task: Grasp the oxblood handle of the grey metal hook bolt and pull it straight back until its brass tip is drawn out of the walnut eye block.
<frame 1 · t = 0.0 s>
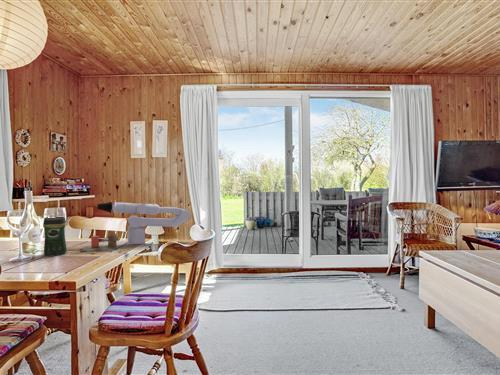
hand: (97, 206, 186), 22 cm above the table, tool horizontal, fingers open, 7 cm apart
eye bracket: (112, 247, 182), on the table
coffee jar: (55, 254, 166), on the table
hook bolt: (106, 240, 181), point 4 cm above the table, slide at 0.0 cm
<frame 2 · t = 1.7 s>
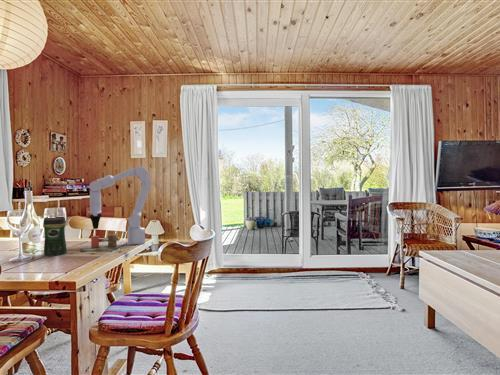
hand: (95, 227, 187), 10 cm above the table, tool pointing down, fingers open, 7 cm apart
nothing on the table moved.
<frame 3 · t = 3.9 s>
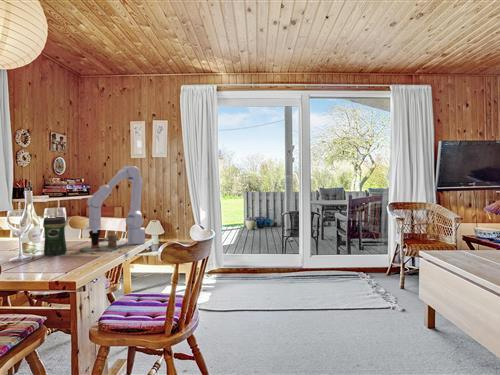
hand: (95, 244, 179), 2 cm above the table, tool pointing down, fingers closed on hook bolt, 4 cm apart
hook bolt: (106, 240, 181), point 4 cm above the table, slide at 0.0 cm, touching gripper
everything else where it was.
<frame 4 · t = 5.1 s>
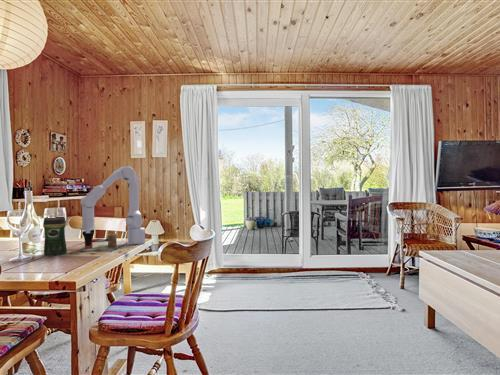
hand: (88, 245, 177), 2 cm above the table, tool pointing down, fingers closed on hook bolt, 4 cm apart
hook bolt: (99, 241, 180), point 4 cm above the table, slide at 3.1 cm, touching gripper
everything else where it was.
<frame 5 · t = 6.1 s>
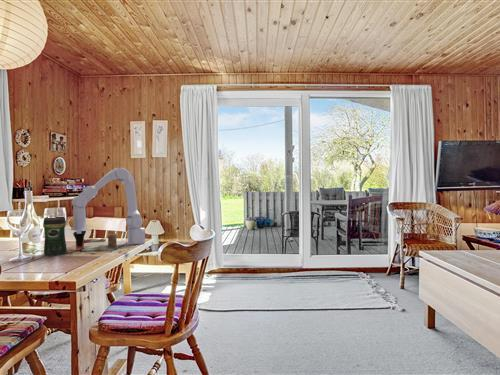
hand: (79, 245, 176), 2 cm above the table, tool pointing down, fingers closed on hook bolt, 4 cm apart
hook bolt: (91, 241, 178), point 4 cm above the table, slide at 7.1 cm, touching gripper
everything else where it was.
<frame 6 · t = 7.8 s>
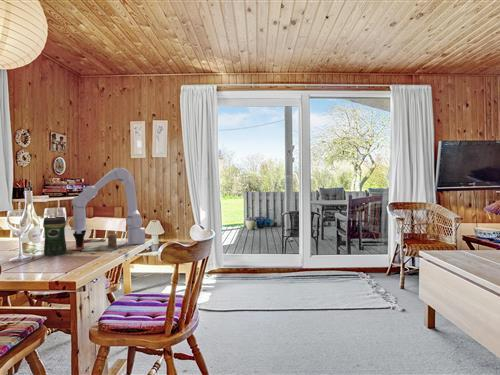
hand: (79, 245, 176), 2 cm above the table, tool pointing down, fingers open, 7 cm apart
hook bolt: (91, 241, 178), point 4 cm above the table, slide at 7.1 cm
everything else where it was.
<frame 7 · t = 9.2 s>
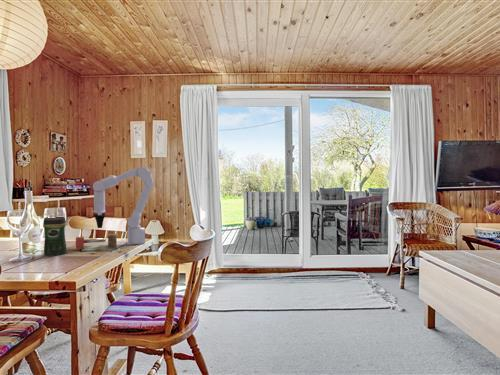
hand: (99, 227, 190), 10 cm above the table, tool pointing down, fingers open, 7 cm apart
nothing on the table moved.
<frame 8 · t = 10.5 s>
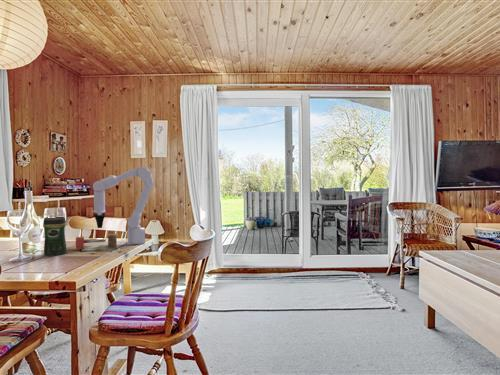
hand: (99, 227, 190), 10 cm above the table, tool pointing down, fingers open, 7 cm apart
nothing on the table moved.
at the end: hook bolt slide at 7.1 cm; the gripper is holding nothing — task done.
